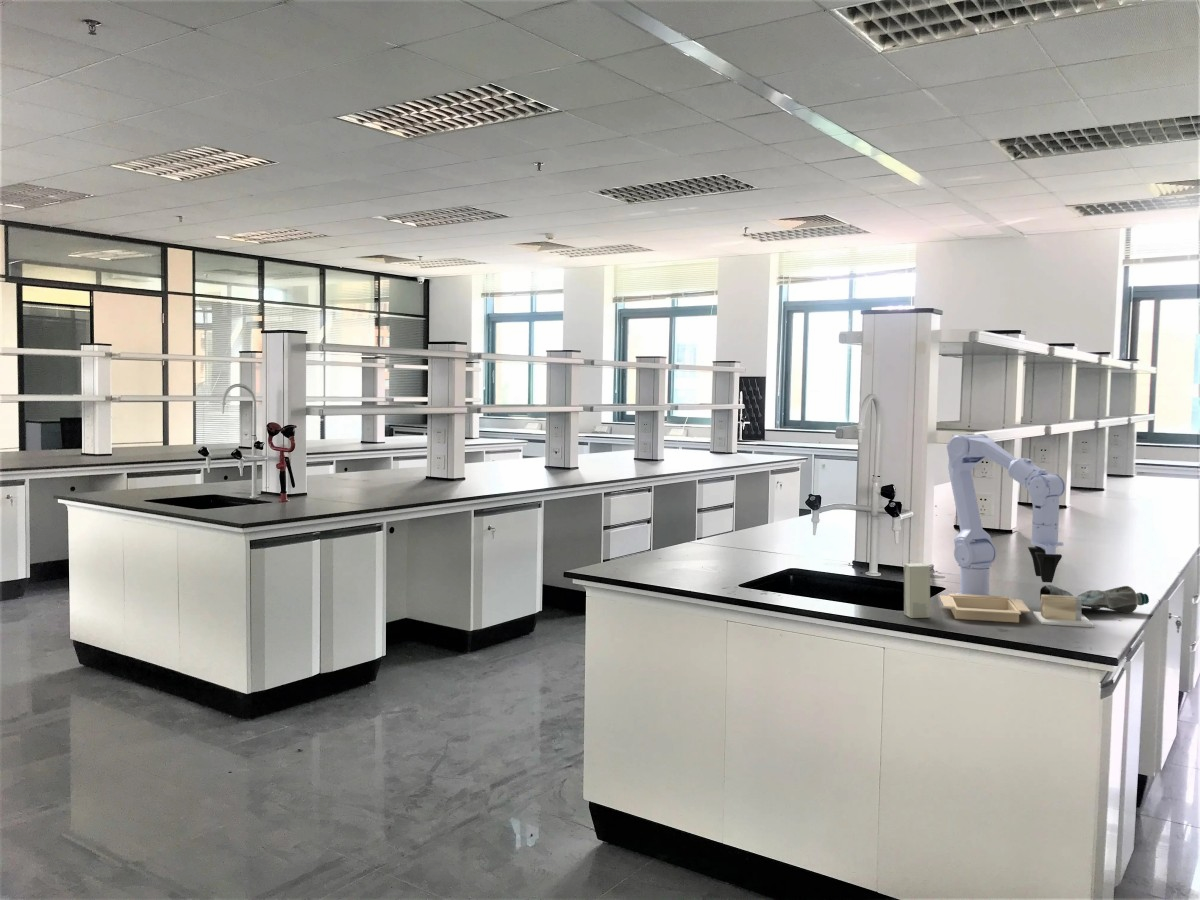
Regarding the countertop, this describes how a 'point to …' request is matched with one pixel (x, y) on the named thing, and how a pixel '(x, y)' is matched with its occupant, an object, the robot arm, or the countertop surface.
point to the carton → (984, 607)
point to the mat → (1064, 621)
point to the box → (917, 590)
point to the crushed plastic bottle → (1104, 598)
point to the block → (1061, 607)
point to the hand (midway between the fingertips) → (1043, 579)
